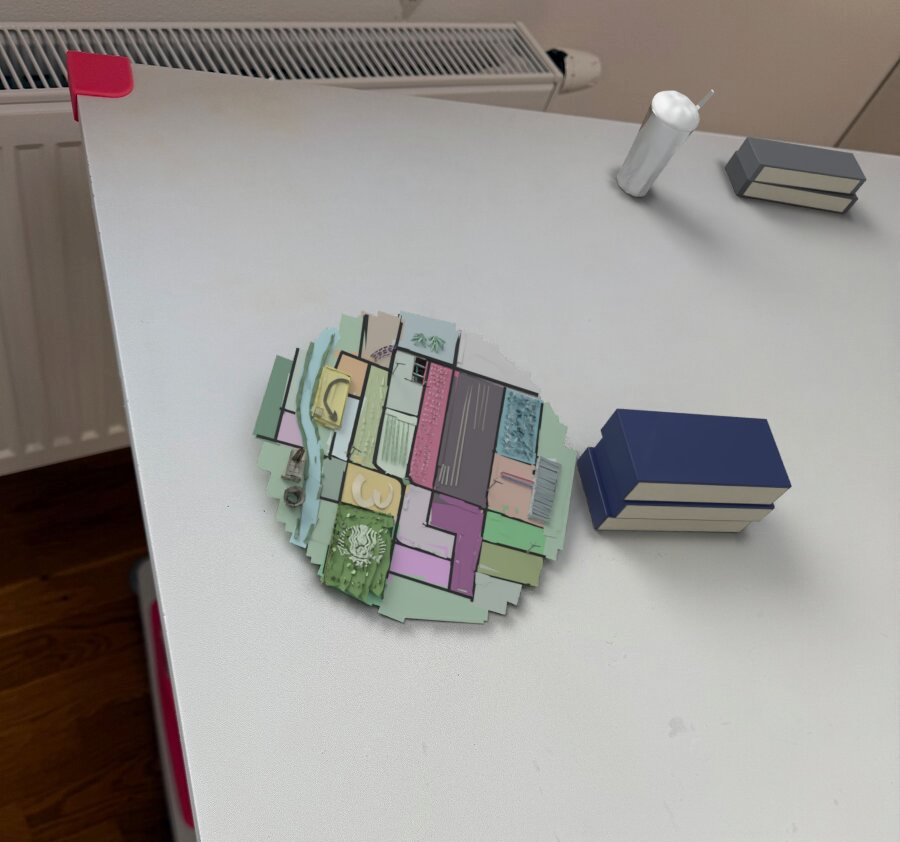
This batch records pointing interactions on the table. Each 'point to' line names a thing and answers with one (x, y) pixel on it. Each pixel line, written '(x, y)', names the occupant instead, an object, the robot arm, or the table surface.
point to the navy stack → (654, 505)
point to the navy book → (693, 458)
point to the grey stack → (795, 174)
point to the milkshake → (658, 140)
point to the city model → (416, 466)
